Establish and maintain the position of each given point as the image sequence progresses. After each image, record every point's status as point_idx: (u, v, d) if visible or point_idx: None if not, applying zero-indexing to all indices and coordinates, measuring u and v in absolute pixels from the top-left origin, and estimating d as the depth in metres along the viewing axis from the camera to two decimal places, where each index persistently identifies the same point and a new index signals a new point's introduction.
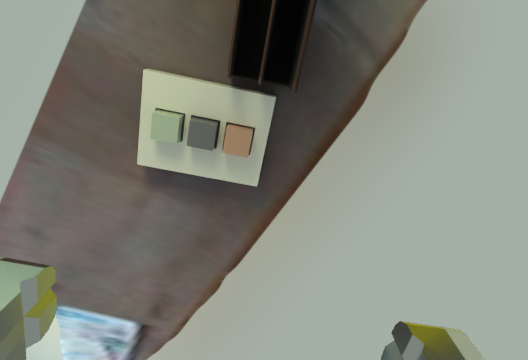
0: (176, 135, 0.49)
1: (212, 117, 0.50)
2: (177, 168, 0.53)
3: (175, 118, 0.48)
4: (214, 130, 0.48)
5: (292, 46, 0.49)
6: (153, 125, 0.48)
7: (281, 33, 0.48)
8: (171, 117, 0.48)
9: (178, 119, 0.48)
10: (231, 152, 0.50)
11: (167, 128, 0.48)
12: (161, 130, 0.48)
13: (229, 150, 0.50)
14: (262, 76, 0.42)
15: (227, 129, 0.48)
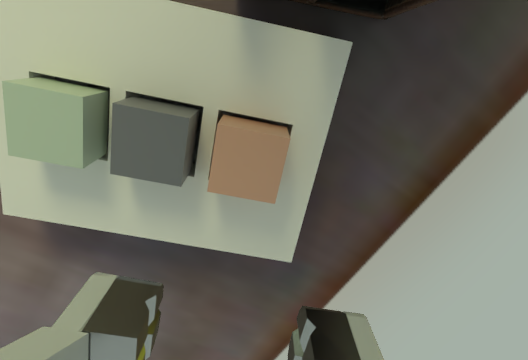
0: (79, 146, 0.18)
1: (181, 97, 0.19)
2: (101, 223, 0.22)
3: (71, 97, 0.17)
4: (184, 132, 0.17)
5: None
6: (11, 118, 0.17)
7: None
8: (59, 95, 0.17)
9: (80, 100, 0.17)
10: (231, 190, 0.19)
11: (52, 125, 0.17)
12: (36, 132, 0.17)
13: (226, 185, 0.19)
14: None
15: (220, 129, 0.17)
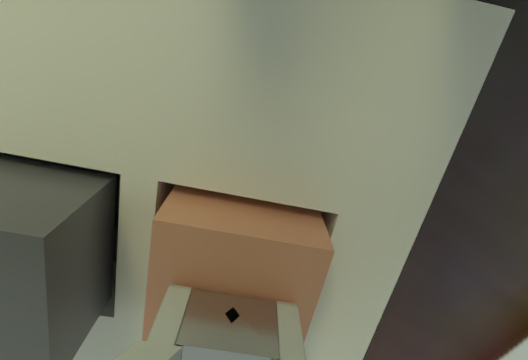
0: None
1: (63, 154, 0.08)
2: None
3: None
4: (35, 273, 0.06)
5: None
6: None
7: None
8: None
9: None
10: None
11: None
12: None
13: None
14: None
15: (161, 231, 0.07)
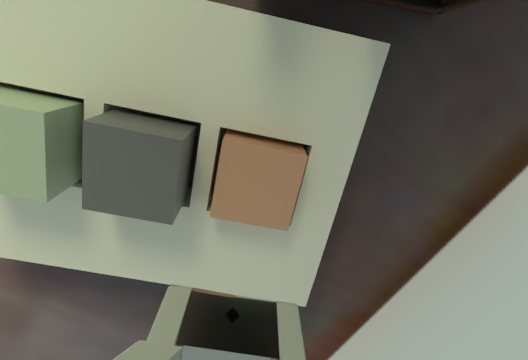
0: (41, 174, 0.14)
1: (174, 112, 0.15)
2: (77, 261, 0.18)
3: (28, 113, 0.13)
4: (176, 158, 0.14)
5: None
6: None
7: None
8: (13, 110, 0.13)
9: (40, 117, 0.13)
10: (238, 216, 0.16)
11: (6, 148, 0.13)
12: None
13: (231, 210, 0.16)
14: None
15: (226, 146, 0.15)
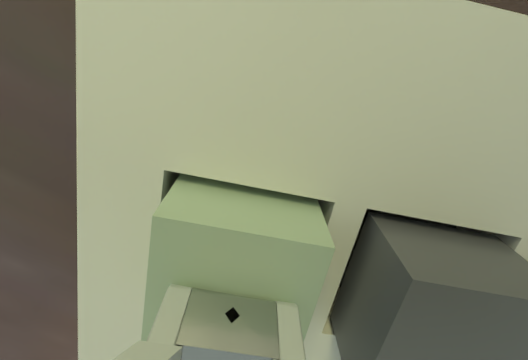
0: None
1: (482, 222, 0.09)
2: None
3: (307, 249, 0.07)
4: None
5: None
6: (160, 288, 0.07)
7: None
8: (281, 243, 0.07)
9: (326, 255, 0.07)
10: None
11: None
12: None
13: None
14: None
15: None
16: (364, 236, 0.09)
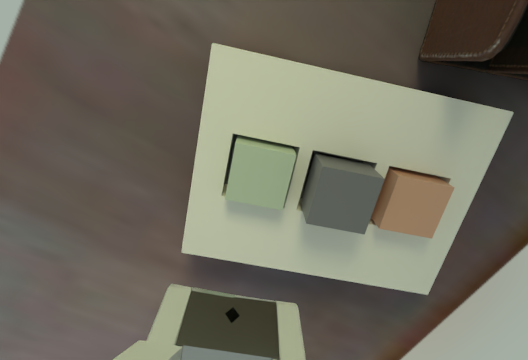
0: (284, 192, 0.22)
1: (359, 156, 0.22)
2: (267, 260, 0.25)
3: (287, 155, 0.21)
4: (377, 189, 0.20)
5: None
6: (235, 170, 0.21)
7: None
8: (278, 153, 0.21)
9: (293, 158, 0.21)
10: (399, 227, 0.23)
11: (266, 176, 0.21)
12: (252, 182, 0.21)
13: (395, 223, 0.23)
14: None
15: (400, 180, 0.22)
16: (313, 163, 0.22)
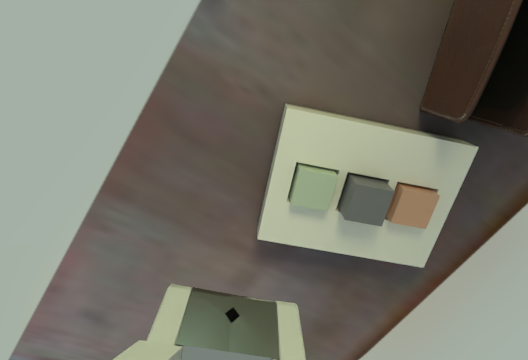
0: (329, 199, 0.34)
1: (378, 175, 0.34)
2: (314, 244, 0.37)
3: (332, 176, 0.33)
4: (390, 198, 0.32)
5: None
6: (298, 186, 0.33)
7: None
8: (326, 175, 0.33)
9: (336, 178, 0.33)
10: (403, 222, 0.35)
11: (318, 189, 0.33)
12: (309, 193, 0.33)
13: (401, 219, 0.35)
14: None
15: (404, 191, 0.33)
16: (347, 180, 0.34)
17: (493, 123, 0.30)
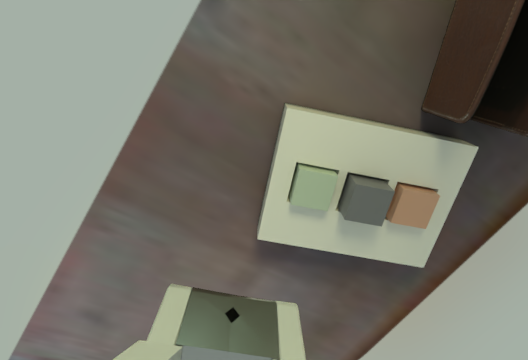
0: (329, 199, 0.34)
1: (378, 175, 0.34)
2: (314, 244, 0.37)
3: (332, 176, 0.33)
4: (390, 198, 0.32)
5: None
6: (298, 186, 0.33)
7: None
8: (326, 175, 0.33)
9: (336, 178, 0.33)
10: (403, 222, 0.35)
11: (318, 189, 0.33)
12: (309, 193, 0.33)
13: (401, 219, 0.35)
14: None
15: (404, 191, 0.33)
16: (347, 180, 0.34)
17: (495, 123, 0.30)
